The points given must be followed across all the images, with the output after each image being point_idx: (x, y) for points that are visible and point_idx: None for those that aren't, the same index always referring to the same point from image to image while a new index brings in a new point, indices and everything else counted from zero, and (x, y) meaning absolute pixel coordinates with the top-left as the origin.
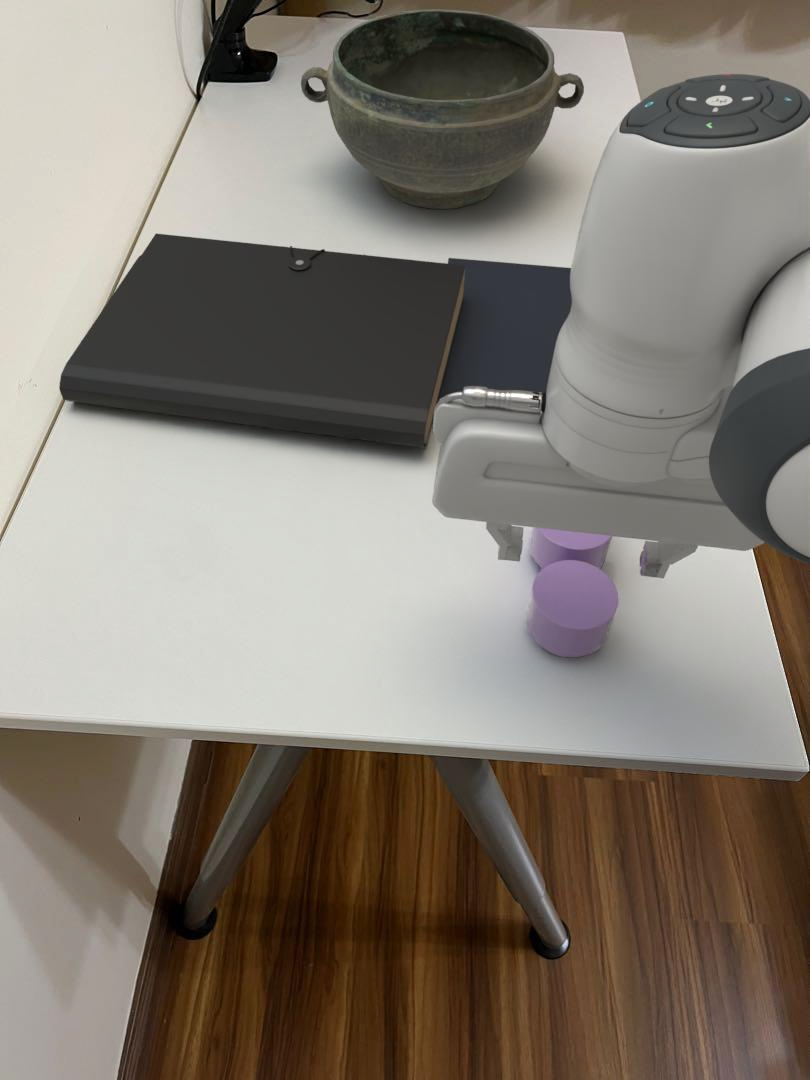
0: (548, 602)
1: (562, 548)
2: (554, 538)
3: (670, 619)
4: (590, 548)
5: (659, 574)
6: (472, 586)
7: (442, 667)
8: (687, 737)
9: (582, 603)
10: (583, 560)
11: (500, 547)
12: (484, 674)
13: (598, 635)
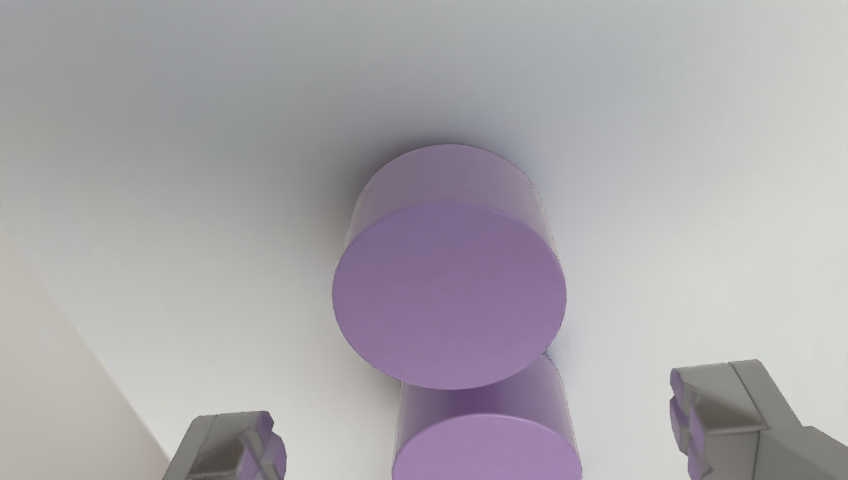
0: (516, 261)
1: (502, 409)
2: (527, 429)
3: (242, 300)
4: (435, 423)
5: (203, 429)
6: (673, 266)
7: (741, 28)
8: (107, 26)
9: (423, 282)
10: None
11: (795, 416)
12: (625, 43)
13: (364, 210)
